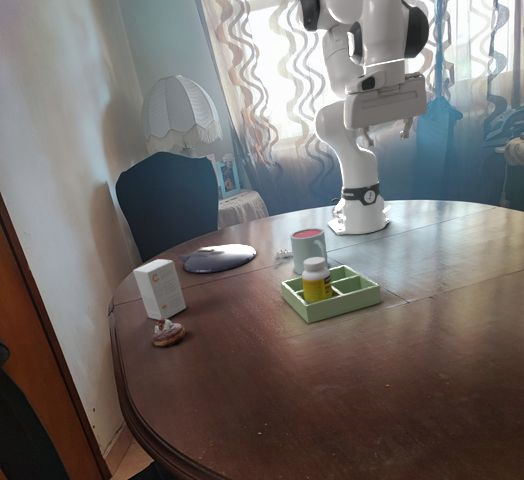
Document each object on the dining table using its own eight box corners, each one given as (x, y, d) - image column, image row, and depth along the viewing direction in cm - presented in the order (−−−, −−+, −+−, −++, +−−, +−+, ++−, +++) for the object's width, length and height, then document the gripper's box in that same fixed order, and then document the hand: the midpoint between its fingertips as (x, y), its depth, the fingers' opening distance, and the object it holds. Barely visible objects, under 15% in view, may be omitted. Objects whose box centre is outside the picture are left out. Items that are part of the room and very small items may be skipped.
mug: (289, 269, 132) (284, 234, 127) (317, 260, 135) (313, 226, 130) (312, 281, 121) (308, 244, 116) (343, 271, 123) (339, 234, 119)
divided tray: (283, 297, 115) (280, 282, 113) (346, 279, 118) (345, 264, 116) (308, 323, 100) (306, 306, 98) (381, 302, 103) (380, 285, 101)
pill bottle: (332, 312, 101) (327, 264, 96) (304, 314, 102) (298, 267, 97) (334, 300, 106) (329, 254, 101) (307, 302, 108) (301, 257, 102)
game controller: (294, 253, 144) (293, 244, 143) (294, 265, 134) (293, 257, 133) (276, 255, 145) (275, 247, 144) (275, 268, 135) (274, 259, 134)
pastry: (156, 334, 109) (150, 315, 106) (187, 328, 108) (182, 309, 106) (151, 350, 102) (144, 330, 99) (184, 344, 101) (178, 323, 99)
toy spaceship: (162, 267, 155) (159, 258, 153) (214, 244, 169) (212, 236, 167) (217, 277, 136) (215, 267, 135) (271, 250, 150) (269, 241, 149)
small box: (171, 305, 123) (157, 258, 117) (186, 308, 120) (173, 260, 113) (147, 317, 118) (132, 269, 112) (162, 321, 114) (147, 272, 108)
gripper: (417, 71, 110) (417, 134, 117) (338, 87, 107) (343, 151, 113) (433, 68, 105) (432, 134, 111) (350, 85, 101) (355, 152, 108)
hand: (387, 143), depth 112 cm, fingers open, 8 cm apart
